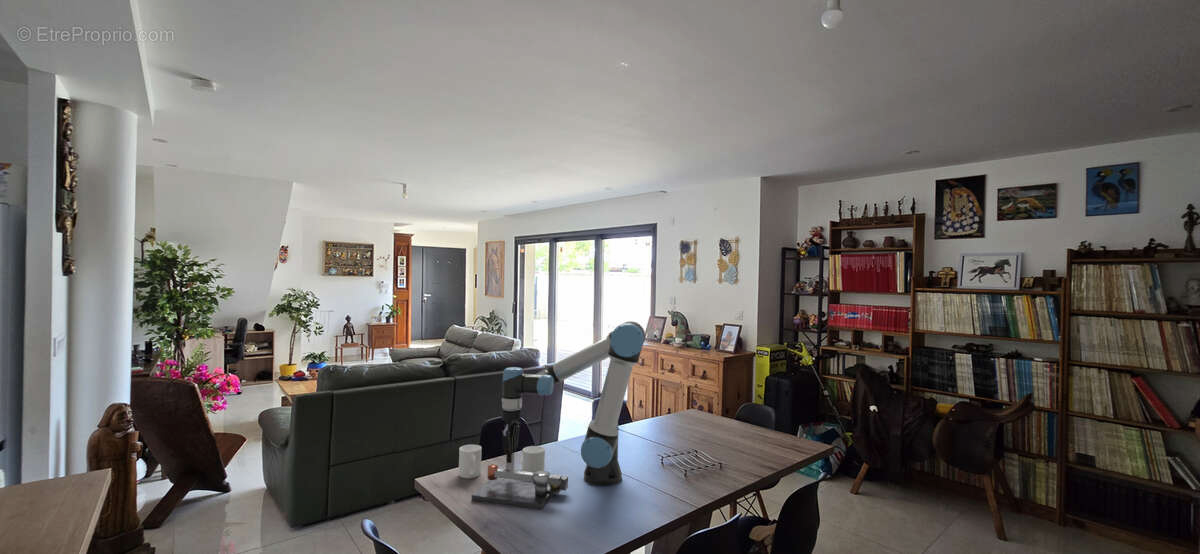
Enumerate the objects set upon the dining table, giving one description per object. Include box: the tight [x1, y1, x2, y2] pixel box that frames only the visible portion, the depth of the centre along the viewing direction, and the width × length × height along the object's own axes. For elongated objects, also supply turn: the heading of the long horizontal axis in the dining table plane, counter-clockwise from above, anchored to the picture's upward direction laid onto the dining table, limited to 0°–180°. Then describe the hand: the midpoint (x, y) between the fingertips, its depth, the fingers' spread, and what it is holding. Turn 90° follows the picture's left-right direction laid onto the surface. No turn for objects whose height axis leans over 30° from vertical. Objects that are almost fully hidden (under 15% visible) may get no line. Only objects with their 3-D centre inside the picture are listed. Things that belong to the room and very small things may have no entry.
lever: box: [487, 464, 562, 486], centre depth 177 cm, size 28×6×4 cm, turn 77°
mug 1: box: [458, 444, 483, 479], centre depth 195 cm, size 9×12×11 cm
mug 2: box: [519, 445, 546, 473], centre depth 202 cm, size 12×9×9 cm
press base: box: [471, 475, 569, 511], centre depth 177 cm, size 30×16×6 cm, turn 77°
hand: (509, 470), depth 188 cm, fingers closed
